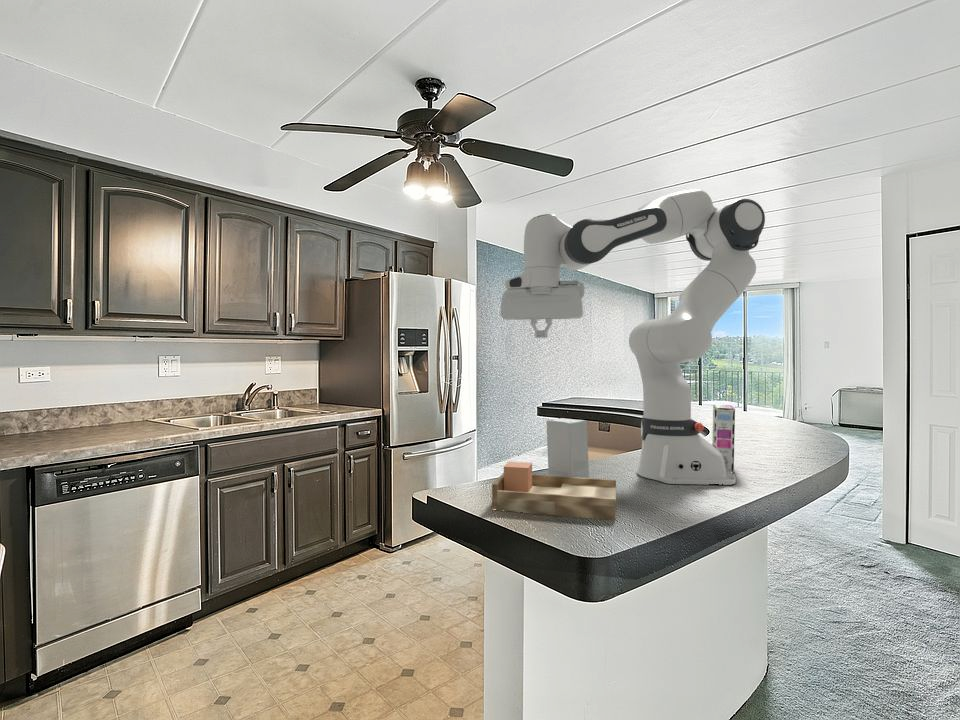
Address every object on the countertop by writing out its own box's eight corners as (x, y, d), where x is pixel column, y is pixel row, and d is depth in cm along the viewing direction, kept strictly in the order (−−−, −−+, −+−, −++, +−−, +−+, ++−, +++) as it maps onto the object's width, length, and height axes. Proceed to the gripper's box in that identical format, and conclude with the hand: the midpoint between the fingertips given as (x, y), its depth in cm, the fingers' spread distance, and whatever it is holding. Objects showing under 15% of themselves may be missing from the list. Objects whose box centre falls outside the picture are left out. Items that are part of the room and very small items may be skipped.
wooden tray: (615, 497, 108) (615, 474, 108) (615, 520, 94) (615, 492, 94) (508, 490, 114) (508, 467, 114) (492, 510, 100) (492, 484, 100)
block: (532, 486, 108) (532, 462, 108) (528, 493, 103) (528, 467, 103) (508, 485, 109) (508, 461, 109) (503, 491, 104) (503, 466, 104)
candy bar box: (735, 473, 130) (735, 408, 130) (713, 472, 132) (713, 407, 132) (732, 464, 141) (732, 404, 140) (711, 463, 143) (712, 403, 142)
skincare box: (589, 485, 119) (589, 420, 119) (570, 488, 116) (570, 422, 116) (564, 477, 126) (564, 416, 126) (545, 481, 123) (545, 418, 123)
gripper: (585, 281, 128) (585, 337, 128) (504, 284, 134) (504, 338, 134) (583, 278, 122) (583, 336, 122) (498, 281, 127) (498, 337, 128)
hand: (541, 337), depth 128 cm, fingers closed
